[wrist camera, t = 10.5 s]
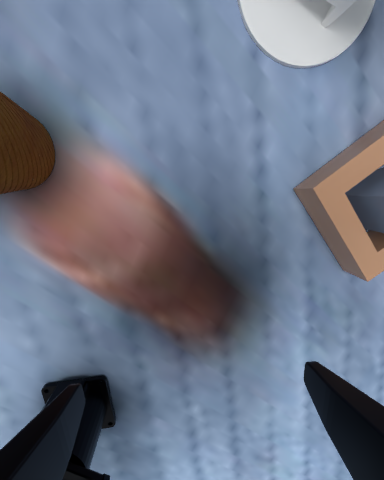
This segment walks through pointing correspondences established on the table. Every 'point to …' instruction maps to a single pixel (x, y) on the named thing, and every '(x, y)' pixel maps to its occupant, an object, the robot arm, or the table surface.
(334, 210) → the frame
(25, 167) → the disposable coffee cup
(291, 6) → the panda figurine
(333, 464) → the table surface
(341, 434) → the robot arm
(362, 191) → the post
